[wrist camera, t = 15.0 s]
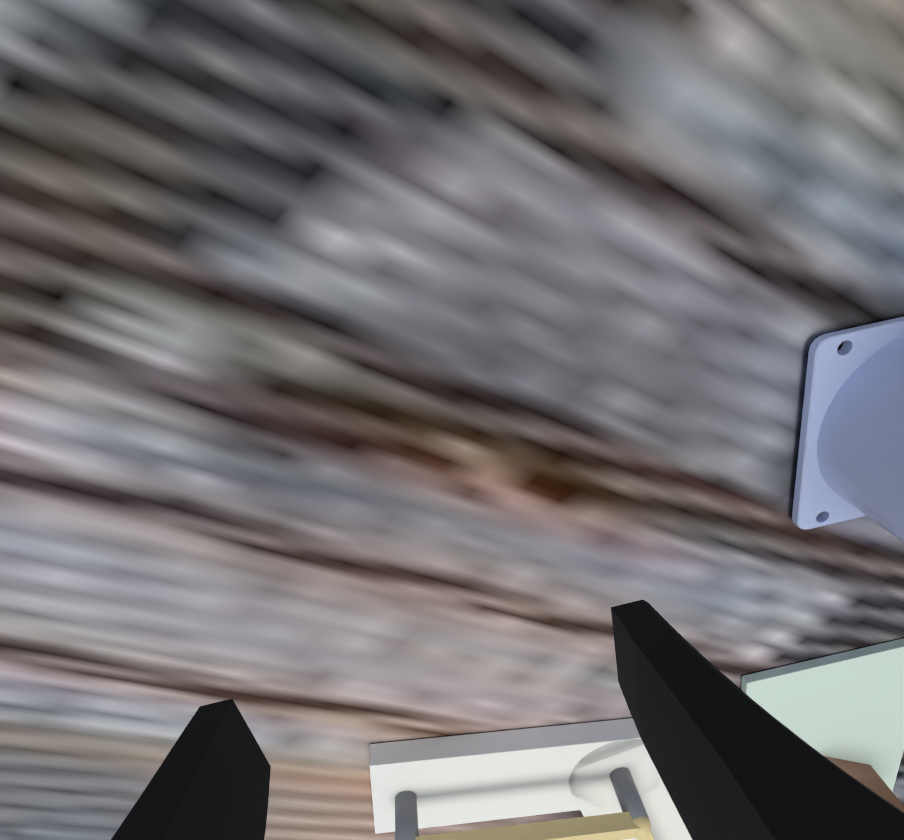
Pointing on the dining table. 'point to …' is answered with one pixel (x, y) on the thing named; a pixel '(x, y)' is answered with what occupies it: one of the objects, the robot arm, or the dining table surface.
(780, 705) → the end mat
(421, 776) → the wire track
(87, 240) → the dining table surface
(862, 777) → the rust block
